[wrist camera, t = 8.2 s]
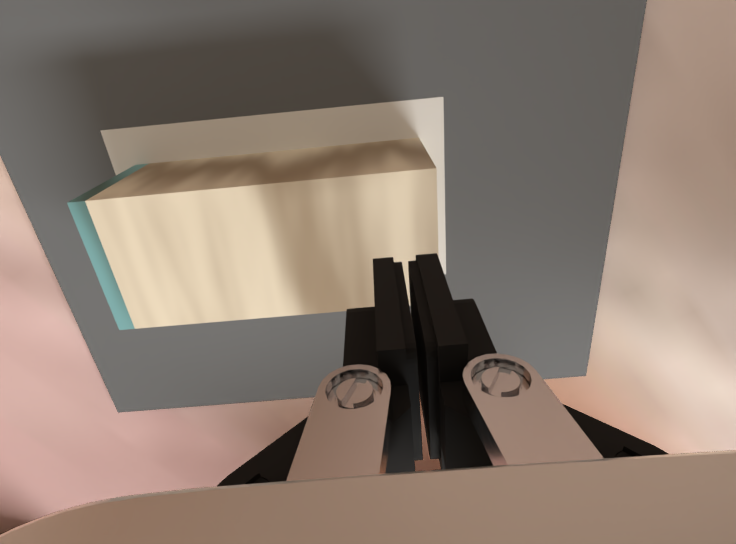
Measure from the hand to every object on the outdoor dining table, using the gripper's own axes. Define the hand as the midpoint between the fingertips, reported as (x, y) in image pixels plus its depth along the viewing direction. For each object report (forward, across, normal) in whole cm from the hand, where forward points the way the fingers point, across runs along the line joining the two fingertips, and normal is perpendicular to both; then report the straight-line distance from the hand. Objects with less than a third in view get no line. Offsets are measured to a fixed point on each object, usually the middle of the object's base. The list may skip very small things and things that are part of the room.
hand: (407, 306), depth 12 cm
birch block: (+6, -1, 0) cm, 7 cm away
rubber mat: (+10, +3, 0) cm, 10 cm away
